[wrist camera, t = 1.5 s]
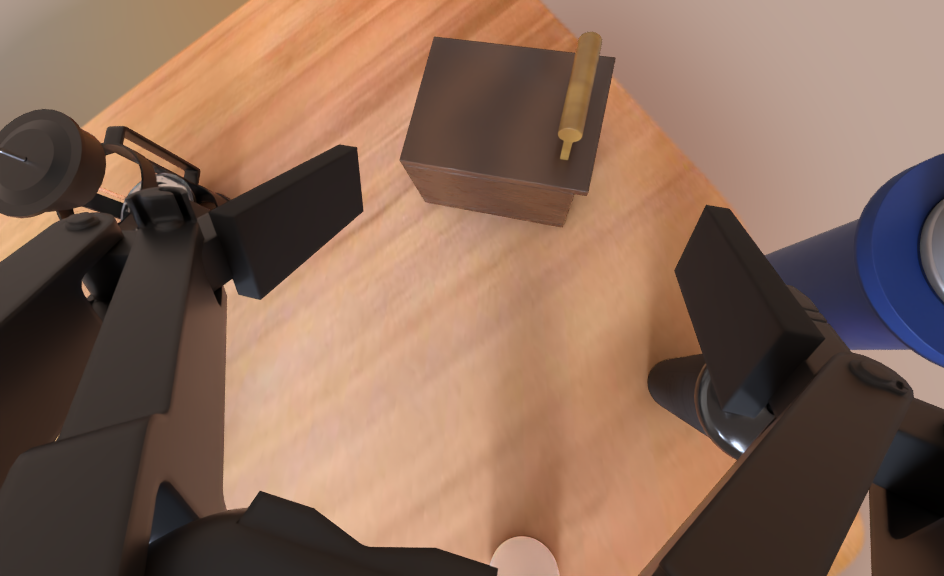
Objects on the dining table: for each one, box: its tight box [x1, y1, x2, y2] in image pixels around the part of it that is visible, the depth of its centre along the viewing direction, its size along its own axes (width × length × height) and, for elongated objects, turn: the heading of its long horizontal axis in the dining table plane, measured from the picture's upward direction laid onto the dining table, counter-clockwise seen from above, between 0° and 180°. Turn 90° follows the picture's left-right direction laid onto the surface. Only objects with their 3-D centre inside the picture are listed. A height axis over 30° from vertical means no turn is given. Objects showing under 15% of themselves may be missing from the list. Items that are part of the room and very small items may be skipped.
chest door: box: [400, 32, 615, 196], centre depth 31 cm, size 17×13×6 cm
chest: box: [403, 164, 574, 227], centre depth 38 cm, size 16×13×9 cm
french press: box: [0, 109, 230, 230], centre depth 35 cm, size 12×9×23 cm
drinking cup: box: [648, 354, 775, 460], centre depth 27 cm, size 8×8×20 cm
